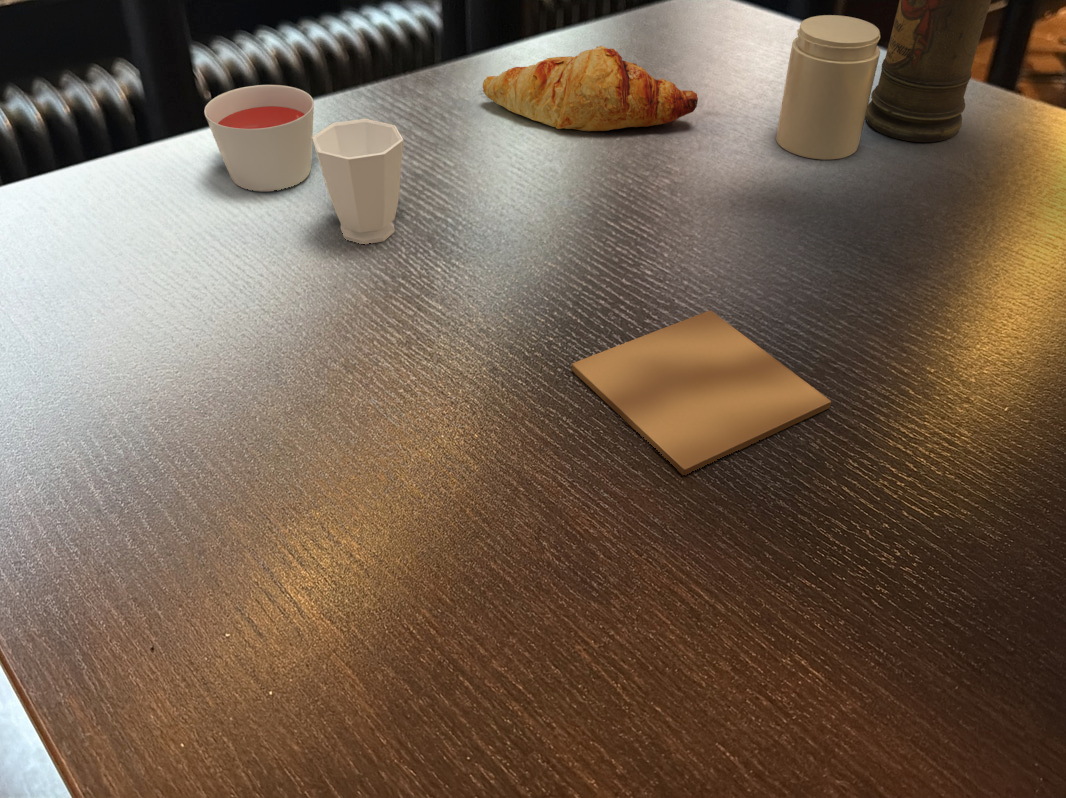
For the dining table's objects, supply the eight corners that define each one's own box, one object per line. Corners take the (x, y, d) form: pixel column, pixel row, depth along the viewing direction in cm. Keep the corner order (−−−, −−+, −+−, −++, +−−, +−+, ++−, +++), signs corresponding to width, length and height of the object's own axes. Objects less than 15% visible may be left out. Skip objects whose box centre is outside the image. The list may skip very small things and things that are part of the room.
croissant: (477, 148, 100) (463, 94, 93) (496, 68, 104) (485, 11, 96) (690, 166, 96) (693, 112, 89) (702, 83, 100) (706, 24, 93)
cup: (315, 251, 78) (300, 156, 73) (340, 190, 86) (329, 100, 81) (404, 255, 78) (396, 159, 73) (422, 193, 86) (415, 103, 80)
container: (940, 103, 101) (995, -89, 89) (974, 143, 94) (1037, -60, 82) (853, 104, 101) (896, -89, 89) (879, 144, 94) (930, -60, 82)
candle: (218, 204, 84) (202, 133, 80) (219, 156, 91) (205, 89, 87) (326, 193, 85) (316, 123, 81) (319, 147, 92) (310, 80, 88)
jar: (875, 146, 93) (903, 33, 86) (818, 167, 90) (842, 50, 83) (815, 117, 98) (837, 7, 91) (758, 136, 95) (777, 23, 88)
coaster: (830, 408, 64) (832, 401, 64) (683, 476, 59) (684, 469, 59) (709, 316, 72) (710, 309, 72) (571, 370, 67) (571, 363, 67)
